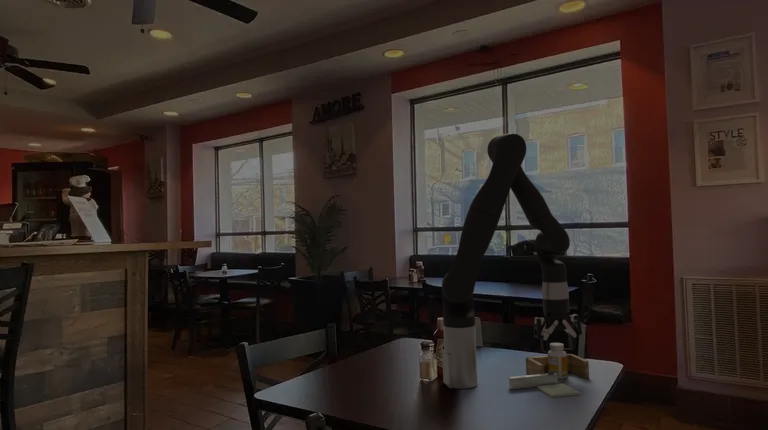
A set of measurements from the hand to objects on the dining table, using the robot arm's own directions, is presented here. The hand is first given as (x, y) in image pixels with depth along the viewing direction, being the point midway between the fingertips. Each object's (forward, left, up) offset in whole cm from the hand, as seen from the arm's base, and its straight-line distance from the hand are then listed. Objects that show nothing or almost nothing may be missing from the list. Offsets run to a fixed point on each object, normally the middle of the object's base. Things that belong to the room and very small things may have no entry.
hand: (558, 350), depth 155 cm
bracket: (0, +1, -8) cm, 8 cm away
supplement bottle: (0, +1, -8) cm, 8 cm away
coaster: (-7, -12, -8) cm, 16 cm away
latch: (-12, -6, -8) cm, 15 cm away
